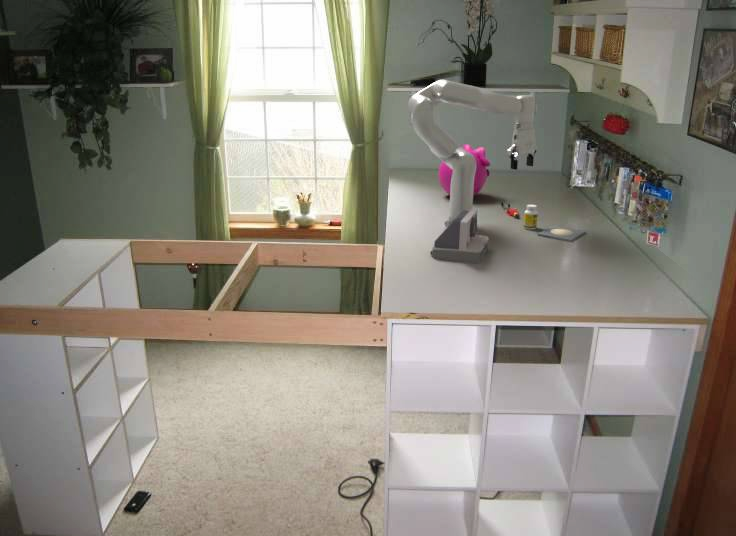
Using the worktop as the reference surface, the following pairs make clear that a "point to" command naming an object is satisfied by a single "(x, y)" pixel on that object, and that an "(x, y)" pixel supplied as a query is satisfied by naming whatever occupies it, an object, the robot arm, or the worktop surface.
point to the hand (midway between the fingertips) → (521, 167)
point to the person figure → (511, 211)
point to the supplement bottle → (530, 217)
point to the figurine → (480, 173)
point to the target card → (561, 233)
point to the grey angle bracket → (461, 240)
